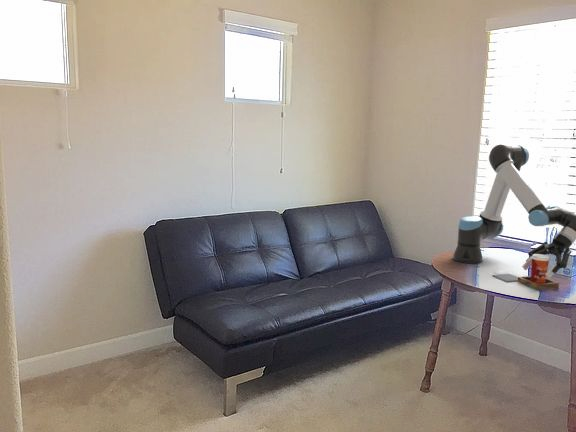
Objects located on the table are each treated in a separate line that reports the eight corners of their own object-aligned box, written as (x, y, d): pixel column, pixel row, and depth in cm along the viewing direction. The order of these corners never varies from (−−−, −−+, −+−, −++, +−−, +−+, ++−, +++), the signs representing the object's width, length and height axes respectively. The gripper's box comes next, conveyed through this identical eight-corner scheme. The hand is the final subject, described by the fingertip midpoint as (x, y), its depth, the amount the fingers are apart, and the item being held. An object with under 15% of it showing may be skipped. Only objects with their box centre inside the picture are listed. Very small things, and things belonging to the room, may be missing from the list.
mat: (492, 276, 239) (492, 274, 238) (509, 274, 242) (509, 273, 241) (507, 282, 229) (507, 281, 229) (524, 280, 232) (524, 279, 232)
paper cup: (536, 288, 221) (540, 258, 219) (524, 283, 229) (527, 254, 226) (550, 287, 223) (554, 257, 221) (538, 282, 231) (541, 253, 228)
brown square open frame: (517, 282, 230) (517, 277, 229) (537, 280, 233) (538, 275, 233) (537, 290, 219) (537, 285, 218) (558, 288, 222) (559, 282, 222)
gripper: (592, 250, 215) (561, 286, 214) (547, 238, 239) (519, 270, 237) (584, 239, 213) (553, 275, 211) (539, 228, 236) (511, 260, 234)
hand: (535, 272), depth 224 cm, fingers open, 13 cm apart
